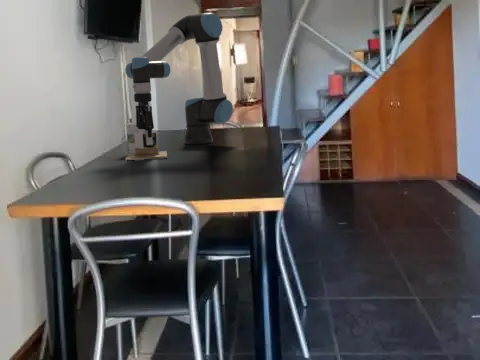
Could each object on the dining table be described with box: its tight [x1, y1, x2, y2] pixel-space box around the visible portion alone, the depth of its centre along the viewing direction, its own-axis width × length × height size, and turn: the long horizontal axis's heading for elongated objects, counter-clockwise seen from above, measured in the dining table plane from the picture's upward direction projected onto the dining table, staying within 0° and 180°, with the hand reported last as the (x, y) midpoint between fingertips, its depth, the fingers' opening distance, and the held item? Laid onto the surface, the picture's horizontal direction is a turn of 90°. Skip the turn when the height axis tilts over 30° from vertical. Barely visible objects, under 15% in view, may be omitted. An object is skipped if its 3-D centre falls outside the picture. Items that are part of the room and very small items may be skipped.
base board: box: [125, 146, 168, 162], centre depth 276 cm, size 18×18×4 cm
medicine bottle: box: [134, 121, 158, 149], centre depth 275 cm, size 7×7×12 cm
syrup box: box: [125, 122, 139, 153], centre depth 289 cm, size 6×6×14 cm
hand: (146, 143), depth 276 cm, fingers closed on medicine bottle, 8 cm apart
